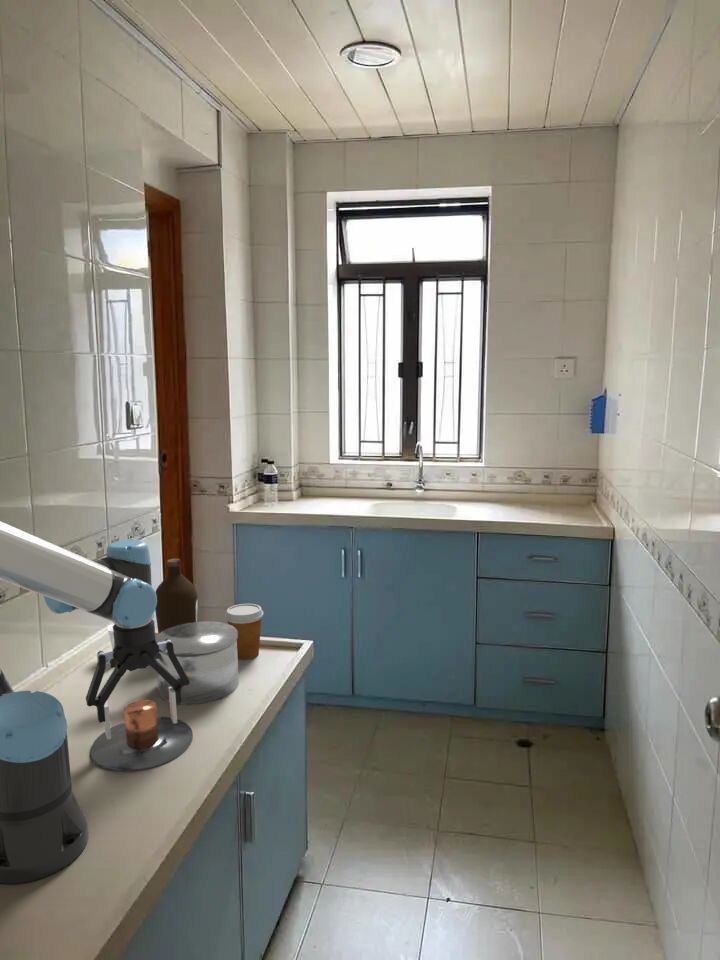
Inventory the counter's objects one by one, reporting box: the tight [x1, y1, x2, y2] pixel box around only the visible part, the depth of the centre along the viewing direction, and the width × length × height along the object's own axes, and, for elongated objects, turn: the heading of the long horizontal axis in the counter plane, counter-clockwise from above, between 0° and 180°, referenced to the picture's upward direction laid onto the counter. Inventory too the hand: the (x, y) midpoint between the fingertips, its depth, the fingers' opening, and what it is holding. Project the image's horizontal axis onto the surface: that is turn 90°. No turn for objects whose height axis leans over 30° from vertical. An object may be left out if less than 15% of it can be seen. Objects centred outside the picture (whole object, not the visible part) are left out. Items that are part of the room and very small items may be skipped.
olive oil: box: [154, 558, 199, 635], centre depth 179 cm, size 11×11×25 cm
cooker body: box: [108, 620, 240, 705], centre depth 160 cm, size 28×19×12 cm, turn 116°
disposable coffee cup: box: [224, 603, 264, 660], centre depth 180 cm, size 10×10×12 cm
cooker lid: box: [90, 699, 194, 772], centre depth 138 cm, size 19×19×8 cm
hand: (141, 728), depth 138 cm, fingers open, 12 cm apart
